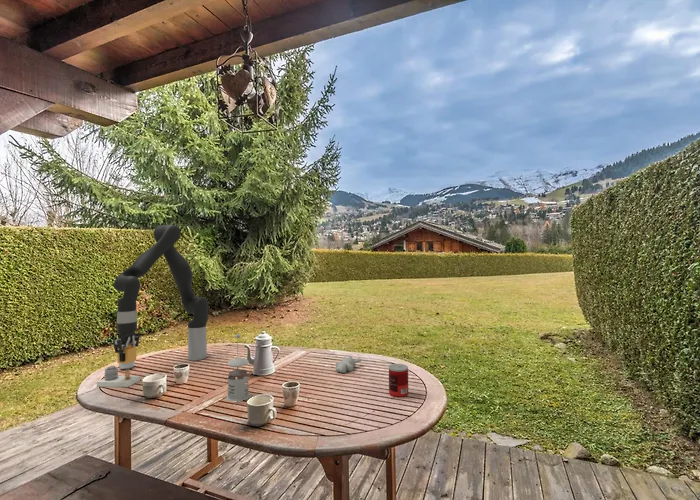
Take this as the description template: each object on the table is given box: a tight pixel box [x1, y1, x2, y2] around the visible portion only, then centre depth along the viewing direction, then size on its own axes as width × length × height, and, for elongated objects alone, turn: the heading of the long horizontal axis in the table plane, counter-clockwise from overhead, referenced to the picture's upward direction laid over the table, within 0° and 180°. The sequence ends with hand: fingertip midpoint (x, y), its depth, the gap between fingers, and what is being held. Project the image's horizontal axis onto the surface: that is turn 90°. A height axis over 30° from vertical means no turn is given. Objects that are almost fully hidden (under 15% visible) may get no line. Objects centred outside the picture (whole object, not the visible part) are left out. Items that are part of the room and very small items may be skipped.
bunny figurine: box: [335, 356, 362, 374], centre depth 171 cm, size 10×5×15 cm
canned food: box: [388, 363, 409, 398], centre depth 140 cm, size 8×8×11 cm
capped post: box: [104, 365, 119, 381], centre depth 155 cm, size 5×5×5 cm
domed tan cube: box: [116, 345, 137, 364], centre depth 155 cm, size 5×5×7 cm
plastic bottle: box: [118, 345, 135, 370], centre depth 175 cm, size 6×7×20 cm
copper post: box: [124, 368, 131, 380], centre depth 155 cm, size 2×2×4 cm
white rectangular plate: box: [96, 375, 141, 388], centre depth 155 cm, size 8×14×2 cm, turn 86°
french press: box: [225, 333, 252, 402], centre depth 140 cm, size 10×12×25 cm
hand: (127, 359), depth 155 cm, fingers closed on domed tan cube, 5 cm apart
